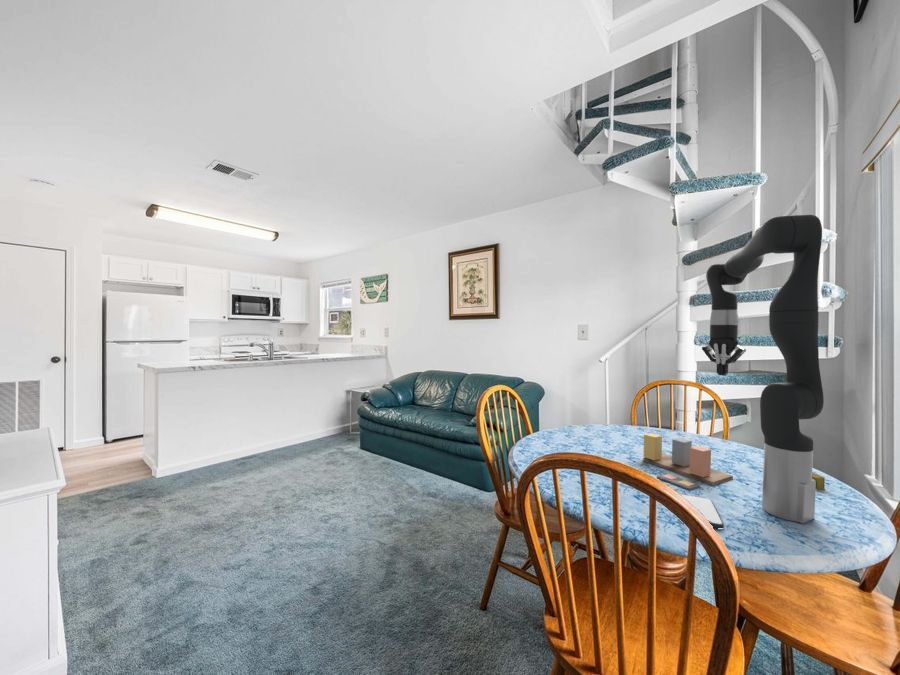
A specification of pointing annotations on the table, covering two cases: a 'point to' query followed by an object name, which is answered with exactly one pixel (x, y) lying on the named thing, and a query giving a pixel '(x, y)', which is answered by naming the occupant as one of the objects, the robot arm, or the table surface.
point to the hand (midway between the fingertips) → (722, 375)
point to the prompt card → (678, 481)
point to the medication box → (819, 481)
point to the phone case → (706, 510)
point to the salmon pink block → (700, 461)
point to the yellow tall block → (652, 446)
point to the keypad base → (667, 463)
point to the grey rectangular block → (681, 451)
